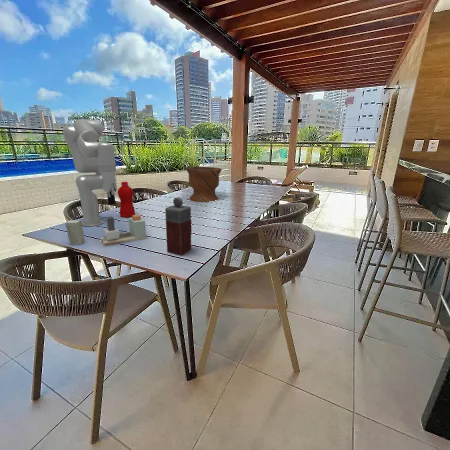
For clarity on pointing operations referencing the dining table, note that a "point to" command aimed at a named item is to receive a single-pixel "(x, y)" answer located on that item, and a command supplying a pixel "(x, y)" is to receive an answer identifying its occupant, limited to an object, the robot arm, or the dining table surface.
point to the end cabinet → (137, 227)
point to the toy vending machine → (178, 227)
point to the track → (120, 239)
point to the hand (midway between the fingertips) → (111, 204)
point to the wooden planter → (203, 183)
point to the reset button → (136, 217)
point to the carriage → (111, 229)
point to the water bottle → (126, 200)
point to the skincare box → (75, 231)
